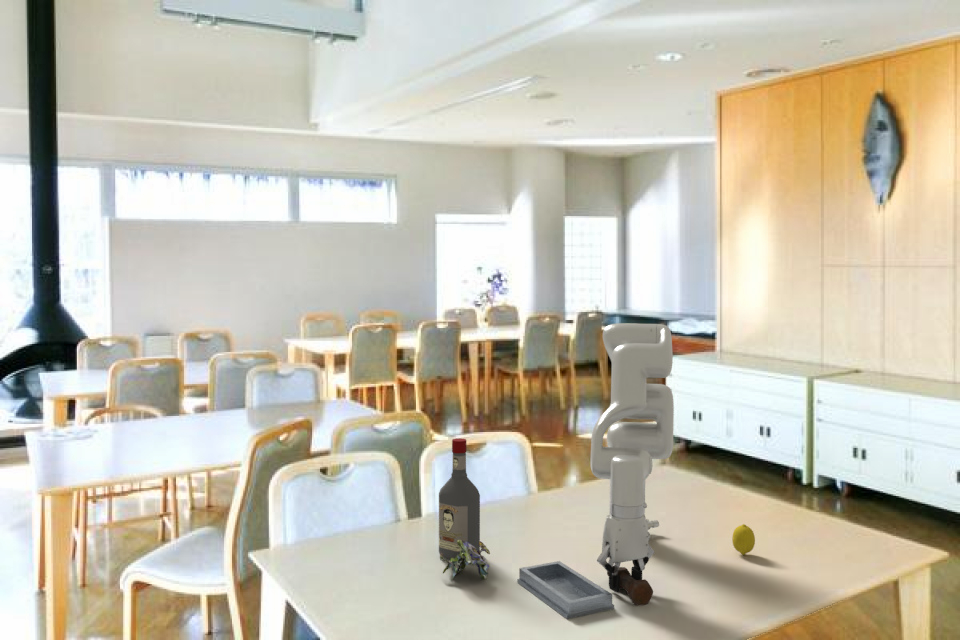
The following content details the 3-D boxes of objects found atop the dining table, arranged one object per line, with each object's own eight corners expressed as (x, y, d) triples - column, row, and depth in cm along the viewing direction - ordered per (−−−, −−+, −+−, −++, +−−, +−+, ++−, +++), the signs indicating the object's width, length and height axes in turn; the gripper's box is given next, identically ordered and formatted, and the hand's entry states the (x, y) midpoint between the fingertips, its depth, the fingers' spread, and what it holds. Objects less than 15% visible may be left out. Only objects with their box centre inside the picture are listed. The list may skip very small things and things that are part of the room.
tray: (561, 574, 198) (561, 560, 198) (614, 608, 179) (614, 593, 178) (517, 582, 193) (517, 568, 193) (567, 619, 173) (567, 603, 173)
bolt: (615, 586, 195) (645, 610, 181) (598, 578, 194) (627, 601, 180) (626, 564, 196) (657, 586, 181) (609, 555, 195) (639, 577, 180)
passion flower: (482, 600, 196) (500, 570, 190) (439, 599, 192) (457, 567, 186) (473, 561, 205) (490, 530, 198) (432, 558, 201) (448, 527, 194)
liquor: (455, 546, 217) (455, 434, 215) (484, 554, 212) (484, 439, 210) (434, 557, 210) (433, 440, 208) (462, 564, 204) (463, 445, 202)
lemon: (755, 553, 213) (756, 522, 212) (753, 560, 208) (753, 529, 207) (733, 549, 215) (734, 519, 215) (730, 556, 210) (731, 526, 210)
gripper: (647, 501, 194) (645, 576, 195) (585, 510, 187) (584, 588, 188) (667, 509, 187) (666, 587, 188) (604, 519, 180) (603, 600, 181)
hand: (625, 587), depth 188 cm, fingers closed on bolt, 5 cm apart
